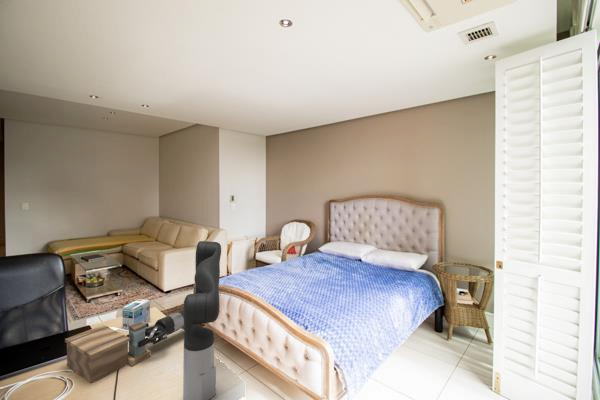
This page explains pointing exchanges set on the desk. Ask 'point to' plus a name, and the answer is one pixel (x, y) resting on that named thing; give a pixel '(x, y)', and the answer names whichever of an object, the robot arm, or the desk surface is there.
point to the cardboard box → (100, 353)
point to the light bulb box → (136, 313)
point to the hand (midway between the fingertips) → (131, 341)
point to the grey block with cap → (136, 339)
